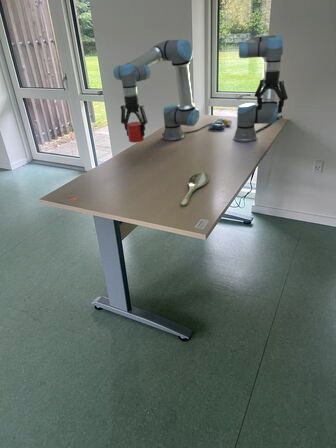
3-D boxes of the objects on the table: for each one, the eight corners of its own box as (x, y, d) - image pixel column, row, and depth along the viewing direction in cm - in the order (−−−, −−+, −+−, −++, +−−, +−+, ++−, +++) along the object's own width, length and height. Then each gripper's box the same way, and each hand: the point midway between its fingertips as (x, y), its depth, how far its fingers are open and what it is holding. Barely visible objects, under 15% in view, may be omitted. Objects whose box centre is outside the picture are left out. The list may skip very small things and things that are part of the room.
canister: (144, 137, 201) (142, 121, 196) (142, 141, 193) (140, 125, 188) (130, 138, 201) (128, 122, 197) (127, 142, 194) (125, 126, 189)
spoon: (193, 209, 156) (193, 205, 155) (172, 207, 159) (171, 203, 158) (212, 175, 182) (212, 172, 181) (193, 174, 186) (193, 170, 184)
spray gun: (234, 122, 269) (216, 122, 275) (234, 117, 267) (216, 117, 273) (226, 131, 254) (207, 130, 260) (226, 125, 251) (207, 124, 258)
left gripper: (110, 96, 185) (116, 136, 197) (145, 96, 178) (149, 138, 189) (117, 93, 191) (123, 133, 203) (151, 93, 183) (155, 134, 195)
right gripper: (249, 70, 186) (247, 109, 197) (288, 72, 169) (284, 115, 180) (257, 68, 189) (255, 107, 200) (297, 70, 172) (292, 112, 183)
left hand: (135, 135), depth 196 cm, fingers closed on canister, 9 cm apart
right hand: (269, 111), depth 190 cm, fingers open, 13 cm apart
